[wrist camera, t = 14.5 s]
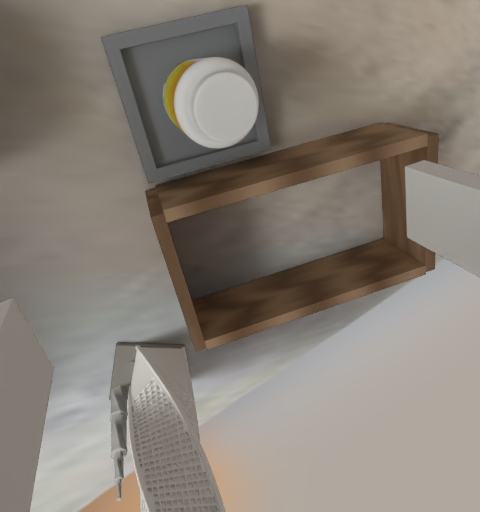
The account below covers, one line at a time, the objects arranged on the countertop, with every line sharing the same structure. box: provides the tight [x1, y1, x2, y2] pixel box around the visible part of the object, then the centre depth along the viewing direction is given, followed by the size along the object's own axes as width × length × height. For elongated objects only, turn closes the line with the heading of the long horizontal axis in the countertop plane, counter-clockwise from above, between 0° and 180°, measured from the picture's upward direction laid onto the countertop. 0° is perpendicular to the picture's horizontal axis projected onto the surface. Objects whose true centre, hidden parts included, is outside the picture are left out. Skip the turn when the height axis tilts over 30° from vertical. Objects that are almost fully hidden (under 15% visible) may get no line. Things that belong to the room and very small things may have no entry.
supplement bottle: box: [163, 57, 259, 148], centre depth 28 cm, size 6×6×10 cm
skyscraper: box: [109, 343, 225, 512], centre depth 31 cm, size 8×8×28 cm
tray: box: [101, 5, 271, 184], centre depth 33 cm, size 11×11×2 cm
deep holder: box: [145, 123, 438, 351], centre depth 37 cm, size 24×14×7 cm, turn 102°
